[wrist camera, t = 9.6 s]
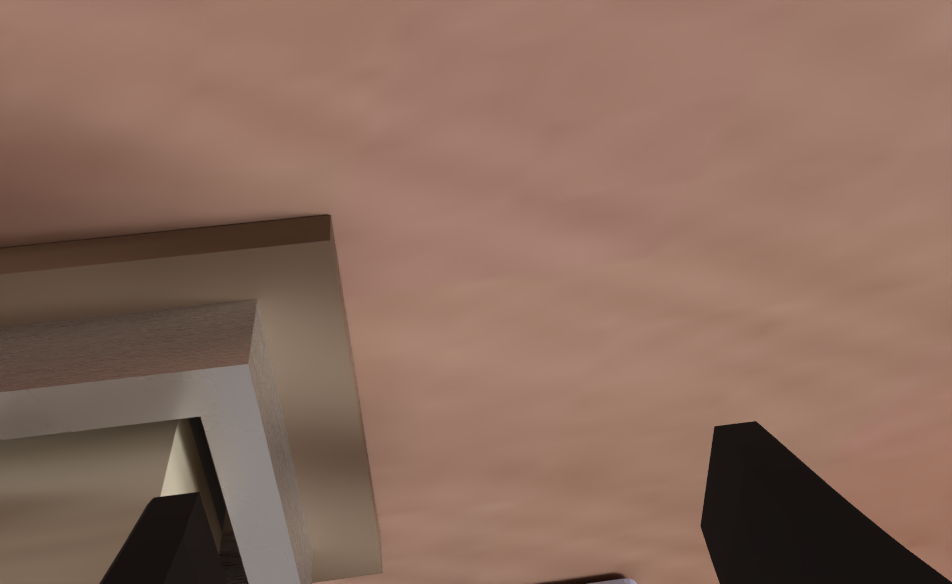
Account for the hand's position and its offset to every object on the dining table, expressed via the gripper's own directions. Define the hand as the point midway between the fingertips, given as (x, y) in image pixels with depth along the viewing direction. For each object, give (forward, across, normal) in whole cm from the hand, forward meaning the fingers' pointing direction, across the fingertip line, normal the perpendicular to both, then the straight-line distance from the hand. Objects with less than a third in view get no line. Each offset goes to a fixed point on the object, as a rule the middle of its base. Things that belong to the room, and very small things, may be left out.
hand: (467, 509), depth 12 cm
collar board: (+9, +8, +6) cm, 14 cm away
